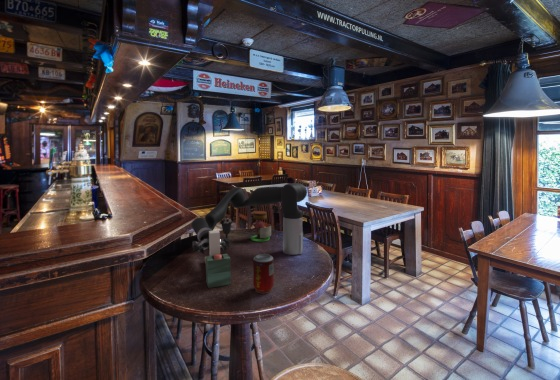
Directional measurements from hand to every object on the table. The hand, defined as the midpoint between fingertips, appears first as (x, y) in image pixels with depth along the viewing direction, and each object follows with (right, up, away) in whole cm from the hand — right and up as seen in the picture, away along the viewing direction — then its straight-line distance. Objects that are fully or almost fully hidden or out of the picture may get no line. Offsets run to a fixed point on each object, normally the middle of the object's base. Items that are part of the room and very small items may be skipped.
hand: (214, 249), depth 116 cm
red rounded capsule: (+3, -6, -6) cm, 9 cm away
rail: (-1, -10, +4) cm, 11 cm away
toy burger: (+15, -4, +49) cm, 51 cm away
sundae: (-3, -4, +47) cm, 47 cm away
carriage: (+1, -11, 0) cm, 11 cm away
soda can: (+20, -12, -10) cm, 25 cm away
